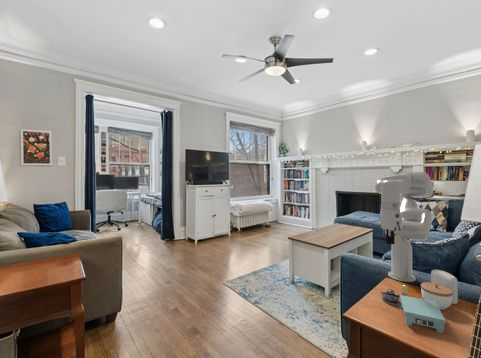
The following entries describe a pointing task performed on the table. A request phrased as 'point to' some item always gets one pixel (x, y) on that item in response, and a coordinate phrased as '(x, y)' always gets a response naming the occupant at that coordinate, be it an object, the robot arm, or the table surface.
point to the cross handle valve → (393, 297)
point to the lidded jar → (437, 294)
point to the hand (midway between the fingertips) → (390, 243)
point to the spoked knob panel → (421, 312)
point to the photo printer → (446, 282)
